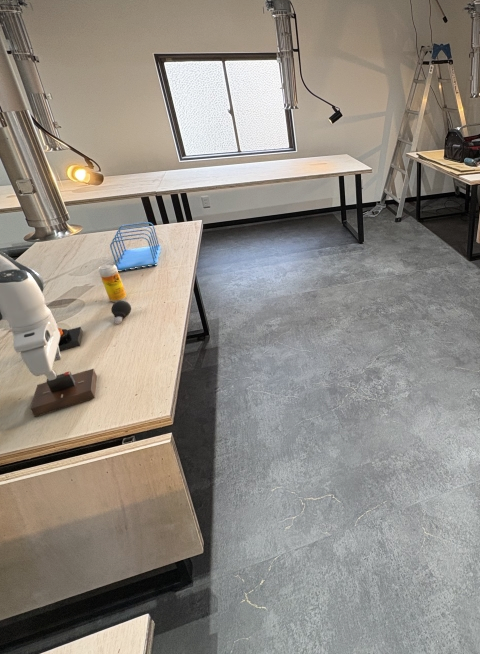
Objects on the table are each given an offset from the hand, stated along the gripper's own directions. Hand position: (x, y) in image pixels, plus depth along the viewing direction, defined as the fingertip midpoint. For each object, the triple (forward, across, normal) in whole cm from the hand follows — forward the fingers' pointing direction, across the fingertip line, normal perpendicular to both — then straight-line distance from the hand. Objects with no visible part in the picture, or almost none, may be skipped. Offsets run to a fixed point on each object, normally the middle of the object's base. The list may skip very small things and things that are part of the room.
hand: (55, 368), depth 115 cm
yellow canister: (+10, -58, +12) cm, 60 cm away
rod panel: (+10, 0, 0) cm, 10 cm away
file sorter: (+10, -98, +21) cm, 101 cm away
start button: (+6, -32, -5) cm, 33 cm away
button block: (+10, -32, -5) cm, 34 cm away
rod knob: (+7, 0, 0) cm, 7 cm away
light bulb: (+10, -40, +14) cm, 44 cm away
